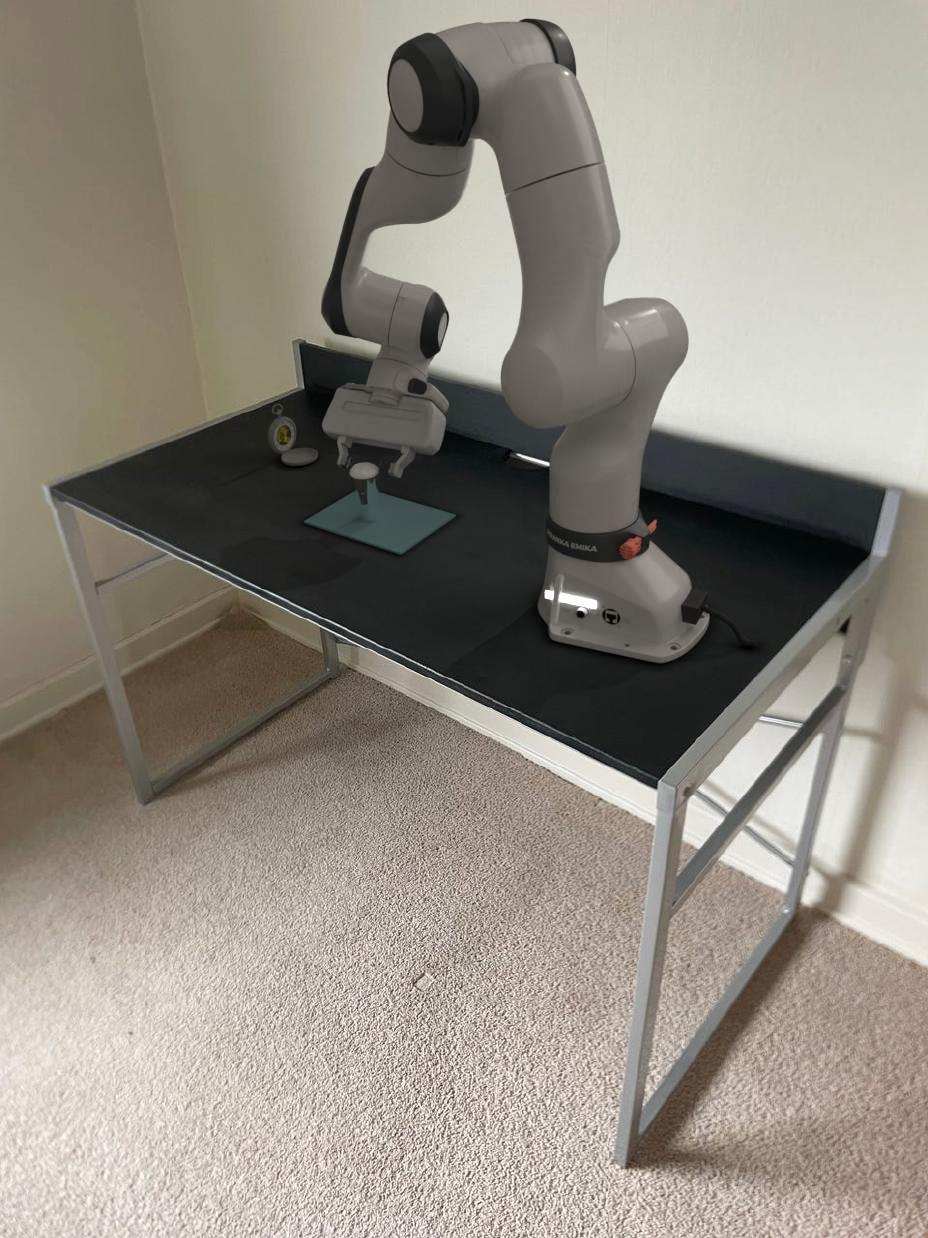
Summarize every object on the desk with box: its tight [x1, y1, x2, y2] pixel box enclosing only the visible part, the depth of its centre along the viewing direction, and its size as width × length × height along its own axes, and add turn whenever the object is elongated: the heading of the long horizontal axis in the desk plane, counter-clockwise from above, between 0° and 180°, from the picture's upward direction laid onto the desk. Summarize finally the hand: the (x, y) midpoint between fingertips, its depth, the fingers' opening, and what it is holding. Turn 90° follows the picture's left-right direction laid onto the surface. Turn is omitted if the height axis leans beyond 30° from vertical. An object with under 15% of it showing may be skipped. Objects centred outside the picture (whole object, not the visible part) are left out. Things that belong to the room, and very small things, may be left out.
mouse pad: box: [303, 491, 457, 556], centre depth 147 cm, size 20×14×1 cm
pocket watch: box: [267, 403, 319, 467], centre depth 166 cm, size 8×8×10 cm
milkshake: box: [349, 460, 383, 522], centre depth 144 cm, size 4×5×10 cm
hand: (368, 471), depth 143 cm, fingers open, 8 cm apart
